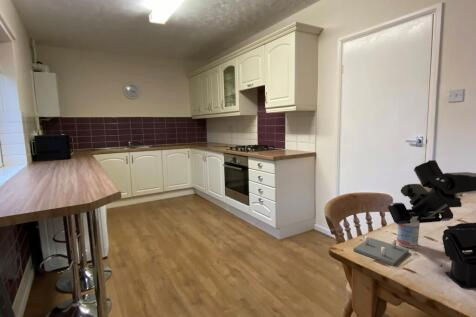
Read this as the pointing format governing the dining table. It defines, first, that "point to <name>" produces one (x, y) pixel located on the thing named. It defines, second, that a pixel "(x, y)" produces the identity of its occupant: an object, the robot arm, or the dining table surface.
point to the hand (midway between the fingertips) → (405, 222)
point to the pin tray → (381, 250)
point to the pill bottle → (408, 233)
